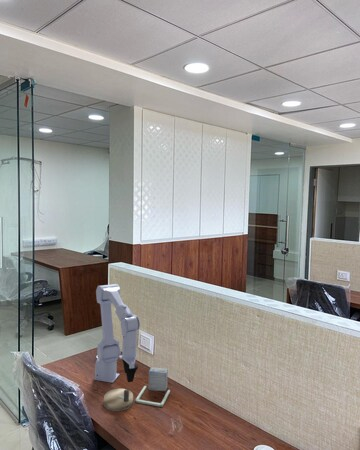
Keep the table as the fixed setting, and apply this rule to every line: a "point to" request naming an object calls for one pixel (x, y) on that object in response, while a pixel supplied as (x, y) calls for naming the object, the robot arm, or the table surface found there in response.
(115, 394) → the disc
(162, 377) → the medicine box
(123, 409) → the base plate
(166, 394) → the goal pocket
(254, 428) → the table surface
